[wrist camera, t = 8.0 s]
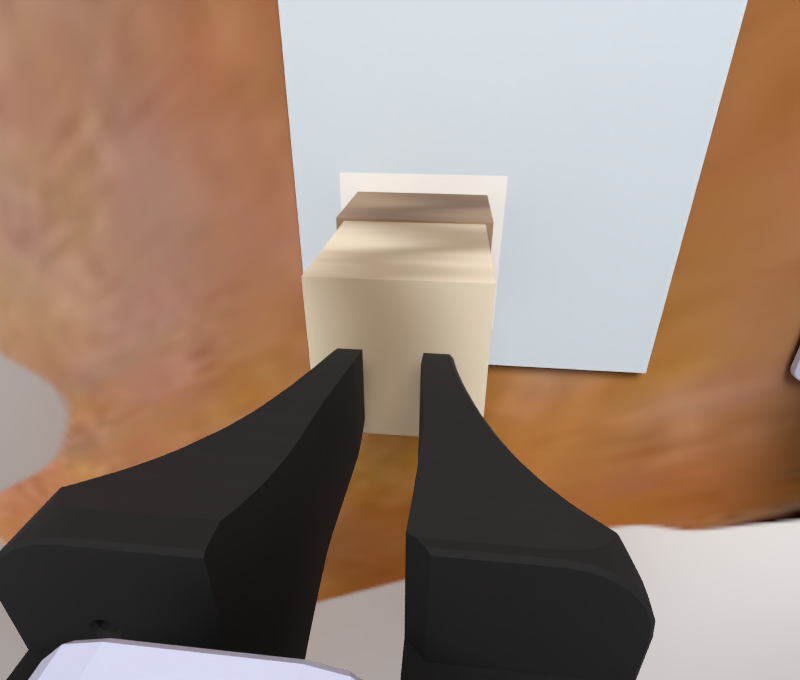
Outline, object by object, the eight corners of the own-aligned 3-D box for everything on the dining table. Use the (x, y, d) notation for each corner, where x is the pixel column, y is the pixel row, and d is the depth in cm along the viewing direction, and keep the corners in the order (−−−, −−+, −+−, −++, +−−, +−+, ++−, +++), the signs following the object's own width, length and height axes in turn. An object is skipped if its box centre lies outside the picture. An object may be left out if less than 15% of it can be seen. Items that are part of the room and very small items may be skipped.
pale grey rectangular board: (847, -408, 12) (865, -431, 12) (641, 366, 23) (645, 373, 22) (251, -364, 14) (242, -382, 13) (314, 348, 24) (310, 355, 23)
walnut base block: (487, 195, 19) (493, 222, 16) (477, 313, 22) (480, 360, 18) (358, 191, 20) (336, 217, 16) (362, 308, 22) (343, 353, 19)
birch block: (485, 224, 16) (495, 283, 11) (476, 349, 18) (481, 440, 14) (343, 220, 16) (301, 276, 12) (351, 343, 18) (316, 430, 14)
